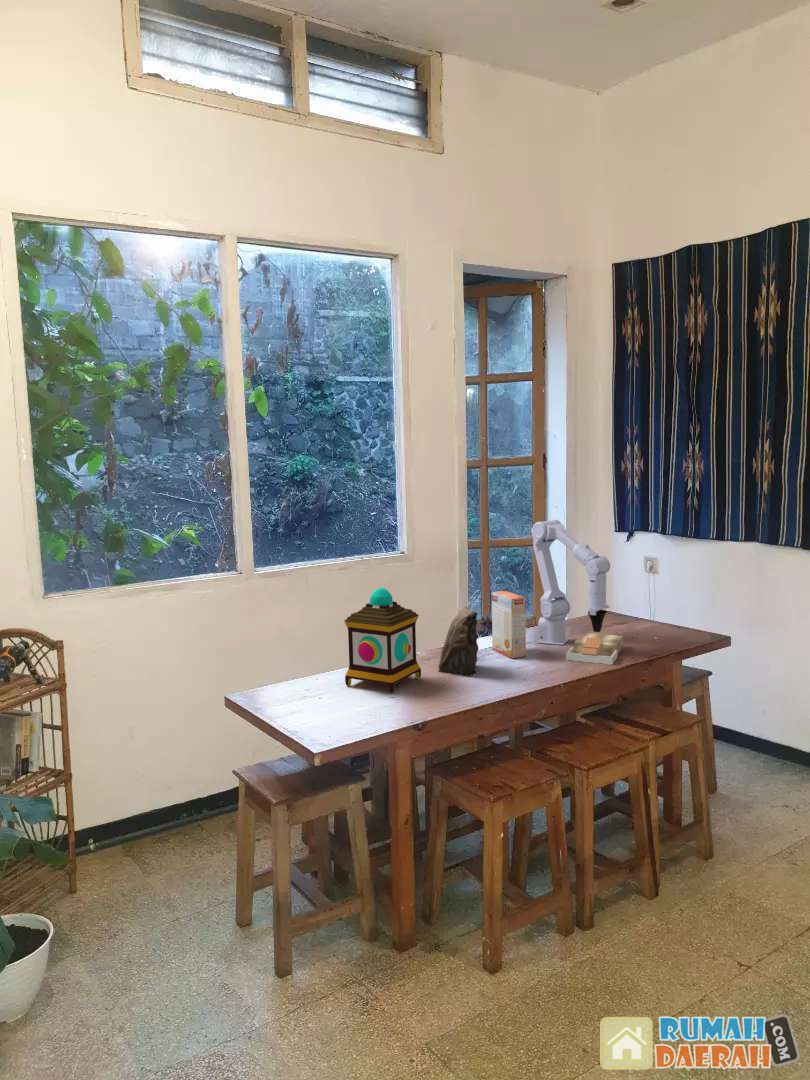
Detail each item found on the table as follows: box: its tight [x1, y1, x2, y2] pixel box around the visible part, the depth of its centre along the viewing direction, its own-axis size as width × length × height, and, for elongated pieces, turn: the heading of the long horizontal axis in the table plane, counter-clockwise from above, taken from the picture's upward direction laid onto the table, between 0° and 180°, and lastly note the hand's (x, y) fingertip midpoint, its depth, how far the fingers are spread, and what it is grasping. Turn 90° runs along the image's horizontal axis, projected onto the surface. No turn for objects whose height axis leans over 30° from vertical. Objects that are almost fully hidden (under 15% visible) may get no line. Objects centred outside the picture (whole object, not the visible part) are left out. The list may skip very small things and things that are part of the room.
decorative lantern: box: [344, 587, 422, 694], centre depth 253 cm, size 20×20×30 cm
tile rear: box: [584, 637, 602, 653], centre depth 276 cm, size 5×5×2 cm
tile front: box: [581, 647, 599, 655], centre depth 273 cm, size 5×5×2 cm
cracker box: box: [491, 590, 527, 659], centre depth 283 cm, size 14×6×21 cm, turn 22°
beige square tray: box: [573, 632, 624, 656], centre depth 285 cm, size 14×14×4 cm
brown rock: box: [437, 605, 479, 677], centre depth 264 cm, size 13×13×20 cm
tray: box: [565, 646, 618, 665], centre depth 274 cm, size 15×9×2 cm, turn 65°
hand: (597, 631), depth 282 cm, fingers closed
